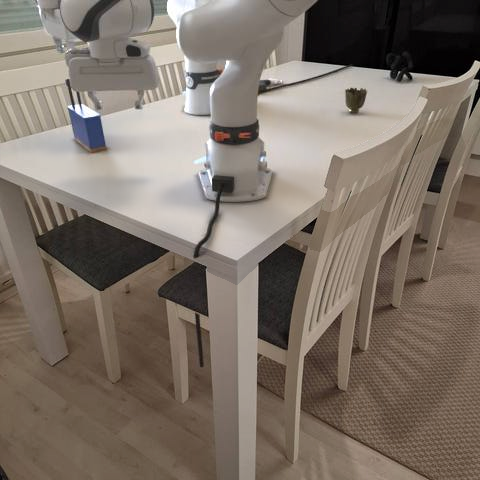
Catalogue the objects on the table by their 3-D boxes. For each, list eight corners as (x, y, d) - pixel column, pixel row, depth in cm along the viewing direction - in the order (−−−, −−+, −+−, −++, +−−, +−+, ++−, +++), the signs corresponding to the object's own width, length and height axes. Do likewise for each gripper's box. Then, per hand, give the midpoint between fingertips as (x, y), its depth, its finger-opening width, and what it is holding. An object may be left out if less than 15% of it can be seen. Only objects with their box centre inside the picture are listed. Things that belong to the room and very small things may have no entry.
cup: (340, 114, 157) (342, 91, 153) (346, 109, 163) (348, 86, 159) (361, 116, 154) (364, 93, 150) (366, 111, 160) (369, 88, 156)
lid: (67, 109, 136) (60, 78, 131) (82, 106, 138) (76, 75, 133) (84, 120, 125) (77, 87, 120) (100, 117, 127) (94, 84, 122)
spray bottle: (231, 92, 187) (266, 82, 203) (251, 96, 181) (286, 85, 197) (231, 84, 185) (266, 75, 201) (251, 88, 179) (286, 78, 195)
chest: (74, 139, 140) (68, 109, 135) (89, 136, 143) (83, 106, 138) (91, 152, 130) (84, 121, 125) (106, 149, 132) (100, 118, 127)
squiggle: (400, 92, 202) (376, 71, 205) (417, 76, 202) (392, 56, 205) (405, 81, 191) (380, 59, 194) (423, 64, 191) (397, 42, 194)
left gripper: (79, 1, 114) (90, 58, 121) (55, -3, 128) (66, 49, 136) (54, 2, 111) (66, 61, 118) (32, -1, 125) (45, 51, 132)
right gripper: (58, 50, 97) (72, 114, 104) (152, 48, 97) (159, 112, 104) (67, 46, 102) (79, 106, 110) (156, 44, 102) (163, 104, 110)
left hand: (66, 55), depth 127 cm, fingers open, 8 cm apart
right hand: (119, 109), depth 107 cm, fingers open, 8 cm apart
